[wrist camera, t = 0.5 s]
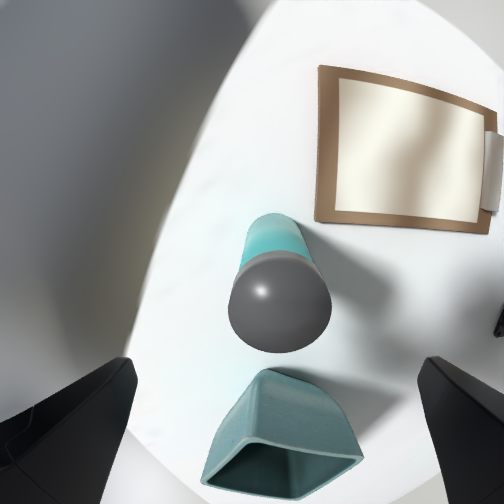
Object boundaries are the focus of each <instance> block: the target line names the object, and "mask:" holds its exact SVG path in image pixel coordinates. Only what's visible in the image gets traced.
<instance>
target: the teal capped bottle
mask: <svg viewBox="0 0 504 504" xmlns="http://www.w3.org/2000/svg"><path fill="white" fill-rule="evenodd" d="M331 311H332V303H331V298H330V294H329V292H328V289H327V287H326V285H325V282H324V280H323V278H322V275H321V273H320V271H319V270H318V268H317V267H316V266H315V265H314V262H313V260H312V257H311V255H310V253H309V250H308V248H307V246H306V243H305V241H304V239H303V236H302V234H301V232H300V229H299V227H298V226H297V224H296V223H295V222H294V221H293V220H292V219H291V218H289V217H287V216H285V215H282V214H277V213H272V214H267V215H264V216H261V217H260V218H258V219H257V220H255V221H254V222H253V224H252V225H251V226H250V228H249V230H248V233H247V237H246V242H245V246H244V251H243V255H242V259H241V264H240V268H239V272H238V274H237V275H236V278H235V280H234V284H233V288H232V292H231V296H230V300H229V305H228V315H229V320H230V323H231V326H232V328H233V330H234V331H235V333H236V334H237V335H238V337H239V338H240V339H242V340H243V341H244V342H245V343H246V344H248V345H250V346H251V347H253V348H255V349H258V350H261V351H264V352H269V353H287V352H292V351H296V350H299V349H302V348H304V347H306V346H308V345H309V344H311V343H312V342H314V341H315V340H316V339H317V338H318V337H319V336H320V335H321V334H322V333H323V331H324V330H325V329H326V327H327V325H328V323H329V320H330V317H331Z"/></svg>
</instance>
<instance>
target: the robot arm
mask: <svg viewBox="0 0 504 504" xmlns="http://www.w3.org/2000/svg"><path fill="white" fill-rule="evenodd" d="M494 336H495V337H496V338H498V337H503V336H504V309H503V312H502V314H501V317H500V320H499V322H498V325H497V327H496V330H495V332H494ZM417 383H418V387H419V392H420V396H421V400H422V404H423V409H424V413H425V418H426V422H427V425H428V428H429V431H430V435H431V438H432V441H433V444H434V448H435V451H436V455H437V458H438V462H439V465H440V469H441V473H442V477H443V481H444V485H445V489H446V493H447V498H448V502H449V504H504V394H502V393H500V392H499V391H497V390H495V389H493V388H492V387H490V386H488V385H487V384H485V383H483V382H482V381H480V380H478V379H476V378H475V377H473V376H471V375H470V374H468V373H466V372H464V371H463V370H461V369H459V368H458V367H456V366H454V365H453V364H451V363H449V362H447V361H446V360H444V359H442V358H441V357H439V356H432V357H427V358H426V359H425V361H424V363H423V365H422V368H421V370H420V373H419V375H418V379H417ZM137 384H138V378H137V374H136V371H135V368H134V365H133V362H132V360H131V359H130V358H128V357H121V356H118V357H116V358H114V359H113V360H111V361H109V362H108V363H106V364H104V365H103V366H101V367H99V368H97V369H96V370H94V371H93V372H91V373H89V374H87V375H86V376H84V377H82V378H81V379H79V380H77V381H75V382H74V383H72V384H71V385H69V386H67V387H65V388H63V389H62V390H60V391H58V392H57V393H55V394H53V395H51V396H50V397H48V398H46V399H44V400H43V401H41V402H39V403H37V404H36V405H34V407H33V406H32V407H30V408H28V409H27V410H25V411H23V412H21V413H19V414H17V415H16V416H14V417H12V418H10V419H7V420H5V421H3V422H1V423H0V504H100V501H101V498H102V495H103V492H104V489H105V486H106V483H107V480H108V476H109V474H110V471H111V468H112V465H113V462H114V459H115V456H116V454H117V451H118V448H119V445H120V442H121V440H122V437H123V434H124V432H125V429H126V426H127V423H128V419H129V415H130V411H131V407H132V403H133V399H134V396H135V392H136V388H137Z"/></svg>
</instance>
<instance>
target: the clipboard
mask: <svg viewBox="0 0 504 504" xmlns="http://www.w3.org/2000/svg"><path fill="white" fill-rule="evenodd" d="M503 149H504V136H501V135H499V134H497V112H495V111H493V110H490V109H488V108H486V107H483V106H481V105H479V104H476V103H474V102H471V101H469V100H466V99H463V98H461V97H458V96H455V95H453V94H450V93H447V92H444V91H441V90H438V89H435V88H431V87H428V86H425V85H421V84H418V83H414V82H410V81H407V80H403V79H399V78H394V77H390V76H386V75H381V74H376V73H371V72H366V71H360V70H354V69H348V68H341V67H334V66H326V65H319V67H318V147H317V174H316V194H315V211H314V220H315V222H334V223H353V224H370V225H386V226H401V227H415V228H428V229H440V230H451V231H462V232H473V233H483V234H488V232H489V227H490V221H491V215H492V211H495V212H498V210H499V203H500V194H501V185H502V172H503Z"/></svg>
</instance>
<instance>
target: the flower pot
mask: <svg viewBox="0 0 504 504" xmlns="http://www.w3.org/2000/svg"><path fill="white" fill-rule="evenodd" d="M363 459H364V455H363V453H362V451H361V449H360V446H359V444H358V442H357V439H356V437H355V435H354V433H353V430H352V428H351V426H350V424H349V422H348V420H347V418H346V416H345V414H344V412H343V411H342V409H341V408H340V406H339V405H338V404H337V403H336V402H335V401H334V400H333V399H332V398H331V397H330V396H329V395H328V394H326V393H325V392H324V391H322V390H321V389H319V388H318V387H316V386H315V385H313V384H311V383H308V382H304V381H301V380H298V379H295V378H292V377H289V376H286V375H283V374H280V373H277V372H274V371H271V370H268V369H264V370H261V371H260V372H259V373H258V374H257V375H256V376H255V378H254V379H253V381H252V382H251V384H250V385H249V386H248V388H247V389H246V390H245V392H244V393H243V394H242V396H241V397H240V398H239V400H238V401H237V402H236V404H235V405H234V406H233V408H232V409H231V410H230V411H229V413H228V414H227V416H226V417H225V418H224V420H223V421H222V423H221V425H220V426H219V428H218V430H217V432H216V434H215V437H214V439H213V442H212V445H211V448H210V451H209V455H208V458H207V461H206V464H205V467H204V470H203V474H202V477H201V480H200V482H201V484H203V485H207V486H210V487H214V488H218V489H222V490H226V491H232V492H237V493H242V494H248V495H253V496H260V497H267V498H274V499H282V500H295V501H297V500H301V499H303V498H305V497H306V496H308V495H310V494H312V493H313V492H315V491H317V490H318V489H320V488H322V487H323V486H325V485H327V484H328V483H330V482H331V481H333V480H334V479H336V478H337V477H339V476H341V475H342V474H344V473H345V472H347V471H348V470H350V469H351V468H353V467H354V466H356V465H357V464H359V463H360V462H361V461H362V460H363Z"/></svg>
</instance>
